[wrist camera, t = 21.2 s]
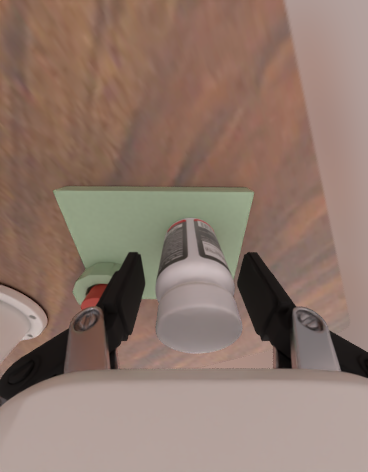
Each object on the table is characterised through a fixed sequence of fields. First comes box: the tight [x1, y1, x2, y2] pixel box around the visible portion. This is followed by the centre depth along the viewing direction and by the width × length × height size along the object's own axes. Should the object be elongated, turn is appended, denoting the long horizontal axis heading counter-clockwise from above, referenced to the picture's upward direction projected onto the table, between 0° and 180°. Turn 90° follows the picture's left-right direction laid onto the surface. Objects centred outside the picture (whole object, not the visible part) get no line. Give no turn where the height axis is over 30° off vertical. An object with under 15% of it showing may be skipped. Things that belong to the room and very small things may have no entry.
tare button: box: [81, 284, 108, 310], centre depth 15 cm, size 4×4×2 cm
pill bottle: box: [155, 218, 242, 353], centre depth 11 cm, size 5×5×8 cm
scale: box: [53, 186, 254, 305], centre depth 15 cm, size 17×14×4 cm
